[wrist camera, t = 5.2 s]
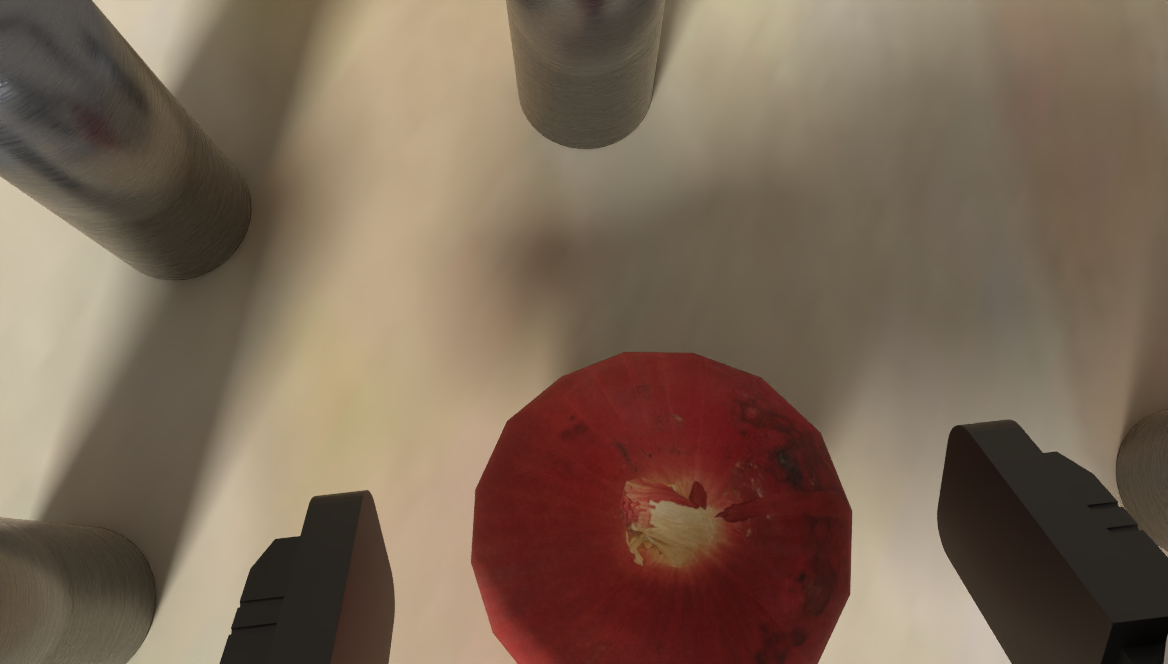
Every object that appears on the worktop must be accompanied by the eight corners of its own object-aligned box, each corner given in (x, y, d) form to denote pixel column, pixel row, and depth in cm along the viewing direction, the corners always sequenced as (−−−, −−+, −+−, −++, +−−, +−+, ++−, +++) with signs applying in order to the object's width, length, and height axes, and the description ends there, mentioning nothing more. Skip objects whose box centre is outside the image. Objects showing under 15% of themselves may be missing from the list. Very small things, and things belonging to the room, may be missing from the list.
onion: (727, 360, 19) (827, 210, 11) (840, 637, 17) (1044, 687, 10) (458, 454, 18) (368, 365, 11) (551, 747, 17) (524, 890, 9)
